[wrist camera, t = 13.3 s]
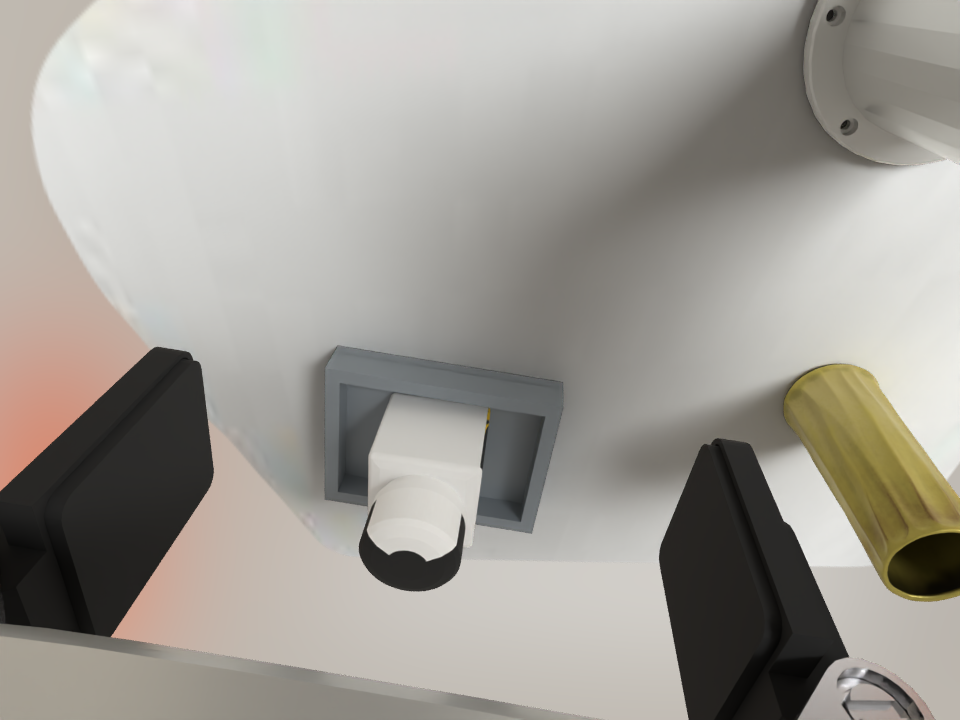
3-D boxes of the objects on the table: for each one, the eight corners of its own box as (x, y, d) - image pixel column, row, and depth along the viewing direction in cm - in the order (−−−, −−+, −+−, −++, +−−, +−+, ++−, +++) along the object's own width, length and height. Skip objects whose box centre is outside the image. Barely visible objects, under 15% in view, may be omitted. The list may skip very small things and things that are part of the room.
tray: (562, 382, 44) (563, 407, 42) (532, 505, 51) (531, 533, 48) (337, 345, 44) (325, 368, 42) (336, 472, 51) (324, 499, 48)
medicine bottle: (481, 479, 48) (463, 613, 38) (389, 466, 48) (346, 596, 38) (491, 403, 45) (474, 530, 34) (391, 389, 45) (345, 512, 35)
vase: (796, 447, 45) (887, 620, 33) (769, 383, 43) (857, 545, 31) (888, 417, 43) (1020, 588, 31) (865, 348, 41) (999, 506, 29)
